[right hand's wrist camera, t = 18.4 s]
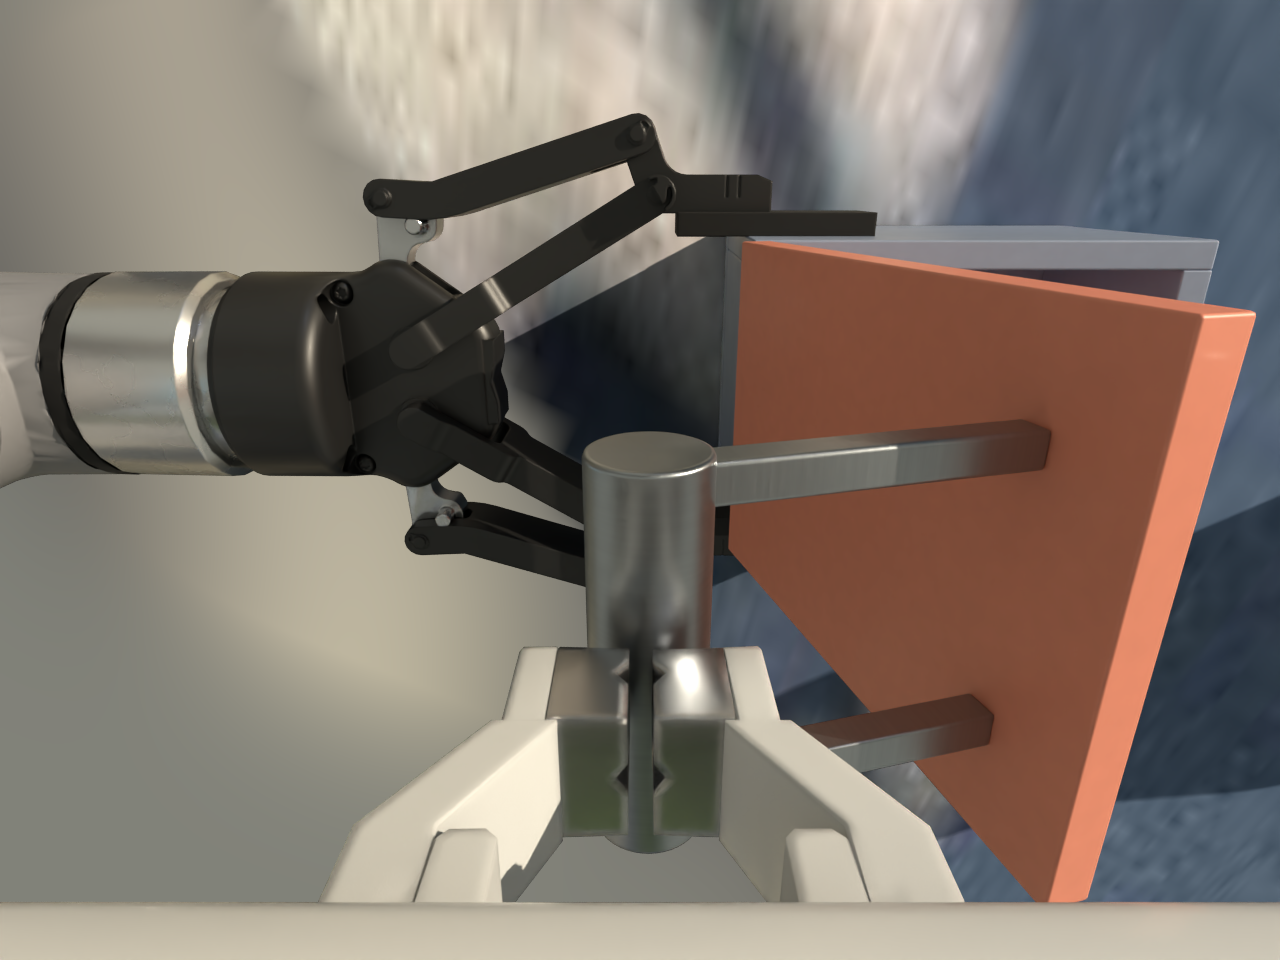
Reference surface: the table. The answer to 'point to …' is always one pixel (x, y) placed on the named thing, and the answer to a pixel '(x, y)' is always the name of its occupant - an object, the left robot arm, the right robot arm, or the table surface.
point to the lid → (935, 526)
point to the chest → (997, 267)
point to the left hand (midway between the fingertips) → (849, 378)
